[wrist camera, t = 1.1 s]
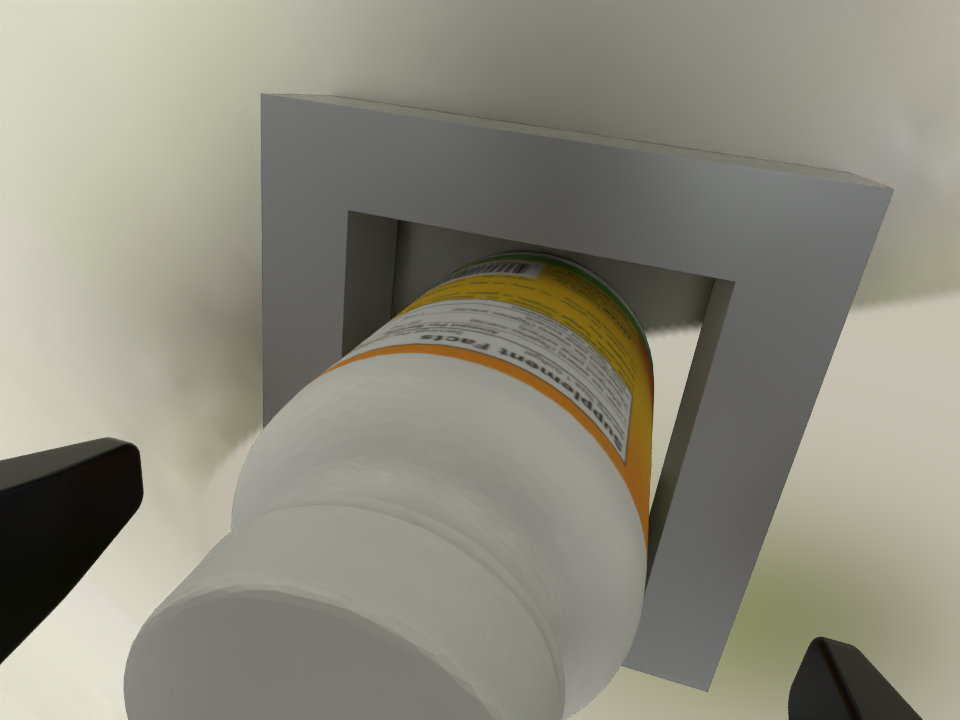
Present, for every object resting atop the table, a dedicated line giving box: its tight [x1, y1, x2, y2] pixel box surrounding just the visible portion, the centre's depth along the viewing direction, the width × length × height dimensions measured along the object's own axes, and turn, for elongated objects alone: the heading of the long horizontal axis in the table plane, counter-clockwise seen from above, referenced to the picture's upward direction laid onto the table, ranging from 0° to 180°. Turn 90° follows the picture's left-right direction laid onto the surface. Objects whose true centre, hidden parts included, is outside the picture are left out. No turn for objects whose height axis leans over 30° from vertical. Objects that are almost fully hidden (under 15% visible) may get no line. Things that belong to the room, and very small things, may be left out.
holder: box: [261, 93, 894, 692], centre depth 13 cm, size 10×10×2 cm
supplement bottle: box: [124, 252, 654, 720], centre depth 10 cm, size 5×5×10 cm
